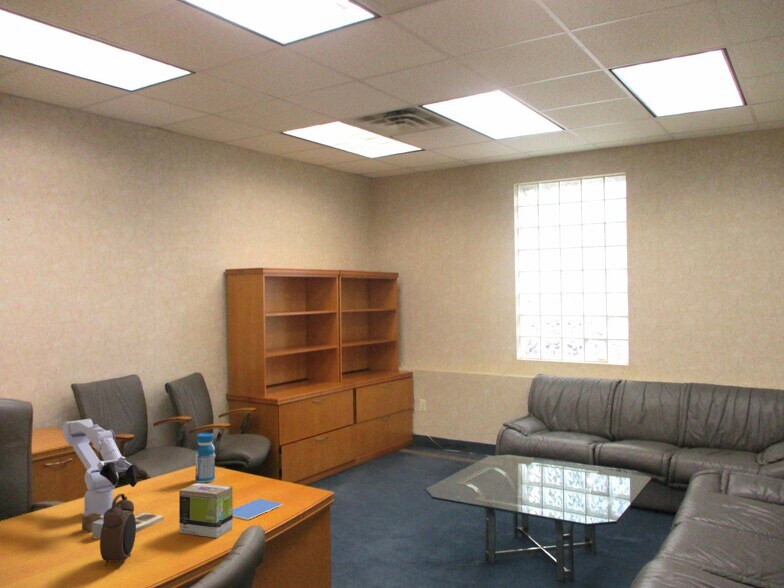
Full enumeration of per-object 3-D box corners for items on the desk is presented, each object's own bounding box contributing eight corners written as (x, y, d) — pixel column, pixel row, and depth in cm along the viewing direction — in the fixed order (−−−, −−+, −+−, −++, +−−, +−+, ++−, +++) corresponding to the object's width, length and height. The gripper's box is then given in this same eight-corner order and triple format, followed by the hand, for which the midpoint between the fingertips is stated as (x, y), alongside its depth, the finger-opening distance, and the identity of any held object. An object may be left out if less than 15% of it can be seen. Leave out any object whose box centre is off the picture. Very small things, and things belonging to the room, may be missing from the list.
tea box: (233, 528, 215) (233, 485, 215) (216, 539, 205) (216, 494, 205) (196, 523, 220) (196, 481, 220) (178, 533, 210) (178, 489, 210)
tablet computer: (259, 501, 245) (259, 497, 245) (284, 506, 239) (284, 503, 239) (223, 516, 228) (223, 512, 228) (248, 522, 222) (248, 518, 222)
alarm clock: (123, 572, 181) (123, 502, 181) (97, 572, 180) (97, 503, 180) (139, 551, 195) (140, 487, 195) (115, 552, 195) (116, 488, 195)
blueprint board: (111, 528, 214) (111, 525, 214) (141, 515, 227) (141, 512, 227) (134, 533, 210) (134, 529, 210) (163, 519, 223) (163, 515, 223)
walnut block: (82, 530, 212) (82, 516, 212) (91, 526, 216) (91, 512, 216) (90, 532, 211) (90, 517, 211) (100, 528, 214) (100, 514, 214)
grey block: (92, 537, 206) (92, 522, 206) (102, 533, 210) (102, 518, 210) (101, 539, 205) (101, 524, 205) (111, 535, 209) (111, 520, 209)
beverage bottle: (204, 484, 264) (204, 437, 265) (190, 481, 269) (190, 435, 269) (219, 479, 272) (219, 433, 272) (205, 476, 276) (205, 431, 276)
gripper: (101, 445, 217) (114, 473, 209) (135, 450, 228) (149, 477, 220) (89, 460, 217) (102, 489, 209) (123, 465, 229) (137, 492, 221)
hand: (125, 483), depth 215 cm, fingers open, 7 cm apart
